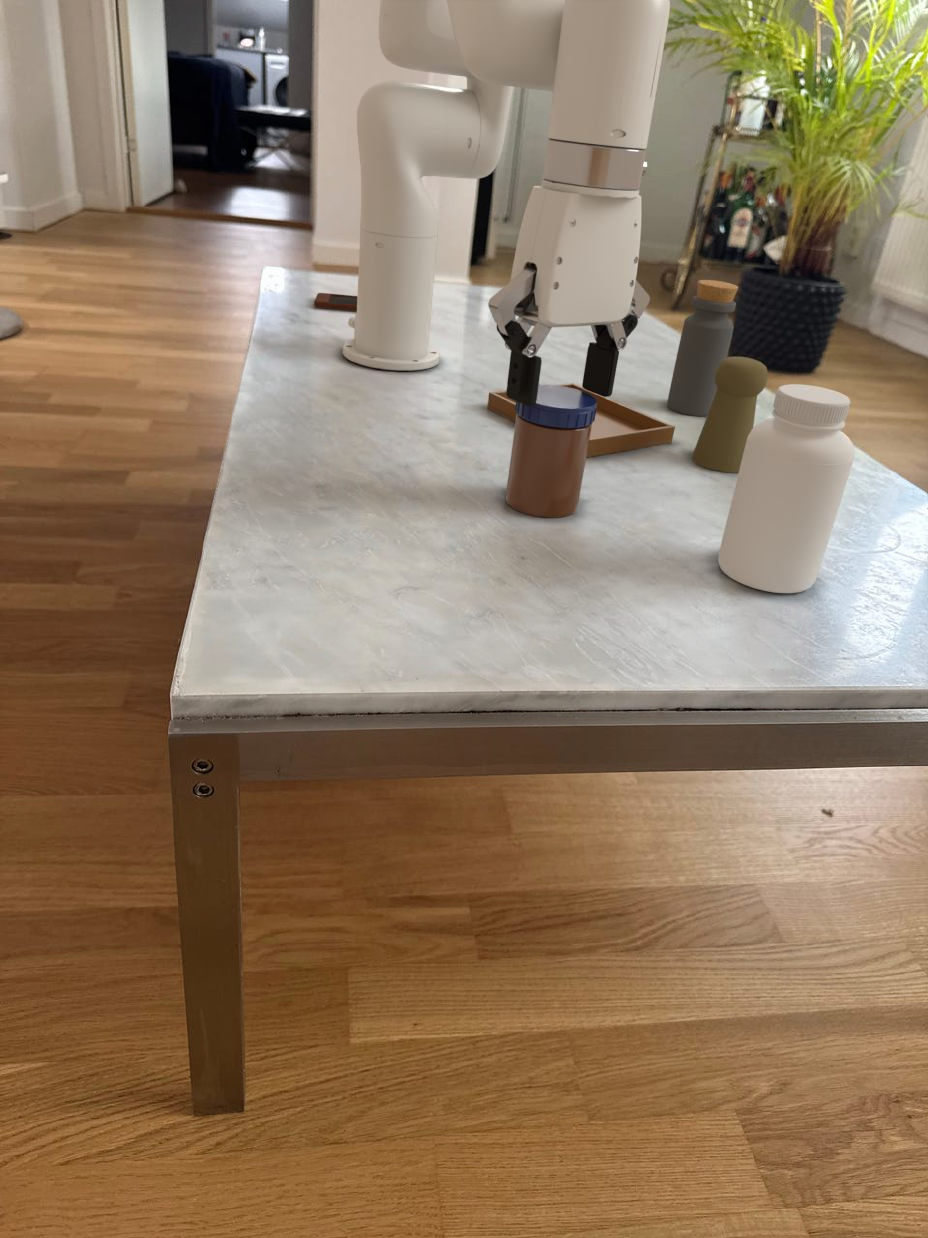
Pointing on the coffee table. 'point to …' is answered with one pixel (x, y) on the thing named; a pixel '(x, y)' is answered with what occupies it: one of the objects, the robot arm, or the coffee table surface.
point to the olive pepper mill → (730, 414)
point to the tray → (605, 424)
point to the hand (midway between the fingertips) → (559, 395)
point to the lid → (560, 407)
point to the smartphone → (336, 301)
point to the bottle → (702, 348)
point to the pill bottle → (788, 491)
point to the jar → (546, 468)
